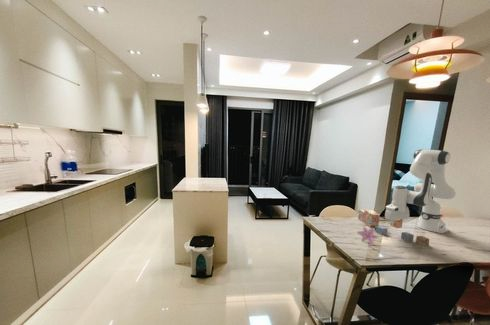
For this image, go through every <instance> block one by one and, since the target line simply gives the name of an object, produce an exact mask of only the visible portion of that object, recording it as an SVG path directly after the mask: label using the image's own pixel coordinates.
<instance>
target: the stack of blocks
mask: <svg viewBox="0 0 490 325" xmlns="http://www.w3.org/2000/svg"><path fill="white" fill-rule="evenodd" d="M357 218H358V220H360V221H361V222H362V223H363V222H364V223H363V224H365V225H366V226H367V225H368V228H369V229H372V228H375V229H377V226H379V222H380V214H379V213H377V212H376V211H375V210H372V209H358V217H357Z"/></svg>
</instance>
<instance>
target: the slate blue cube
mask: <svg viewBox="0 0 490 325" xmlns="http://www.w3.org/2000/svg"><path fill="white" fill-rule="evenodd" d="M375 232H376V233H377V234H379V235H381V236H383V235H388V227H385V226H383V225H378V226H377V228H375Z"/></svg>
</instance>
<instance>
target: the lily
mask: <svg viewBox="0 0 490 325" xmlns="http://www.w3.org/2000/svg"><path fill="white" fill-rule="evenodd" d="M375 232H376V228H369V229H368V228H366V227H365V226H363V228H362V230H361V231H360V230H359V231H357V232H356V234H358V235H360V236H361V242H366V241H367V242H368V243H369V244H370V245H372V246H373V245H374V239H379V237H378V236H377V235H375Z"/></svg>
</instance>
